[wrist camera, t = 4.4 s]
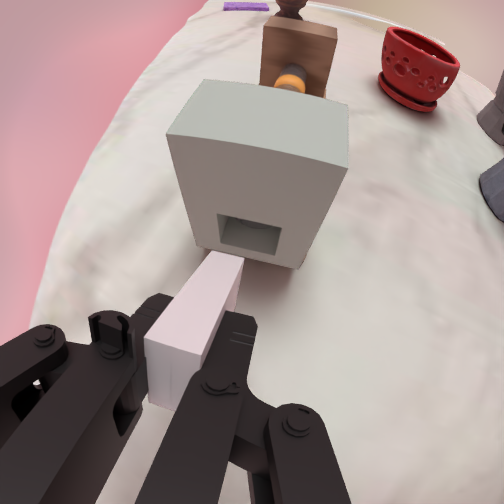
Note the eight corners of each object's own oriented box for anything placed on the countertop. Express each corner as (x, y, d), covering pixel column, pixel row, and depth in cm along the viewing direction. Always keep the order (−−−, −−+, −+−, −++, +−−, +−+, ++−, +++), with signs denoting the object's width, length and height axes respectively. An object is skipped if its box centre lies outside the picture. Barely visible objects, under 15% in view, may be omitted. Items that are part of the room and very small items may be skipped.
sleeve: (307, 215, 23) (347, 104, 13) (298, 269, 21) (348, 168, 11) (215, 195, 24) (203, 79, 13) (197, 246, 22) (165, 133, 11)
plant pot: (391, 72, 41) (409, 26, 31) (443, 111, 37) (469, 65, 26) (355, 80, 38) (373, 22, 27) (417, 126, 34) (448, 67, 23)
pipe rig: (323, 97, 34) (340, 29, 24) (302, 263, 24) (346, 175, 13) (262, 84, 35) (267, 15, 24) (200, 239, 24) (175, 141, 14)
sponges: (224, 7, 57) (224, 2, 55) (266, 7, 58) (267, 2, 56) (223, 12, 54) (223, 6, 53) (269, 12, 55) (269, 7, 53)
